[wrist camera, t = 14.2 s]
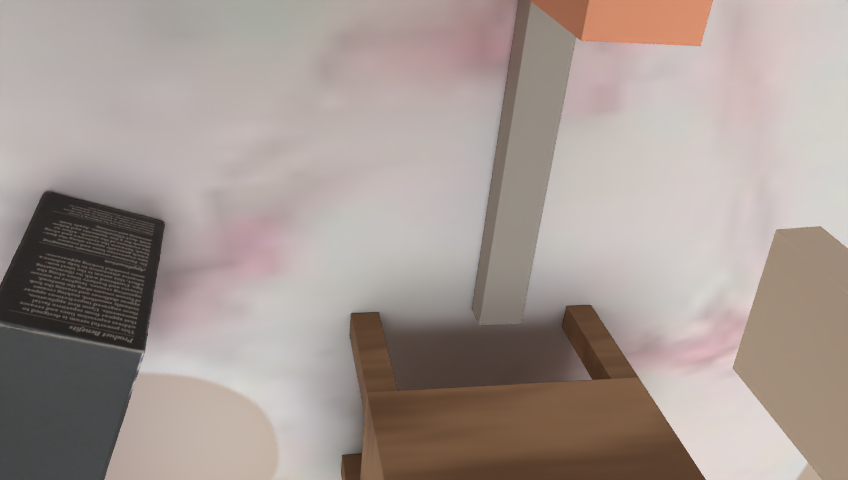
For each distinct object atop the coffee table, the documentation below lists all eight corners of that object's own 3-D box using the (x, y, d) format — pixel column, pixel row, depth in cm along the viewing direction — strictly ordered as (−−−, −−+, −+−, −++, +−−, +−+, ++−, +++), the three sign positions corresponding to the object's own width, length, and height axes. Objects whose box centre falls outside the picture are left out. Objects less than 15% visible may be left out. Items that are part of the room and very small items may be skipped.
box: (129, 345, 41) (98, 503, 32) (11, 321, 39) (-57, 483, 30) (169, 218, 38) (147, 355, 29) (43, 185, 36) (-23, 321, 27)
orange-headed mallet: (513, -121, 33) (605, -86, 25) (611, -112, 34) (733, -75, 26) (453, 309, 44) (503, 435, 36) (530, 306, 45) (596, 429, 37)
